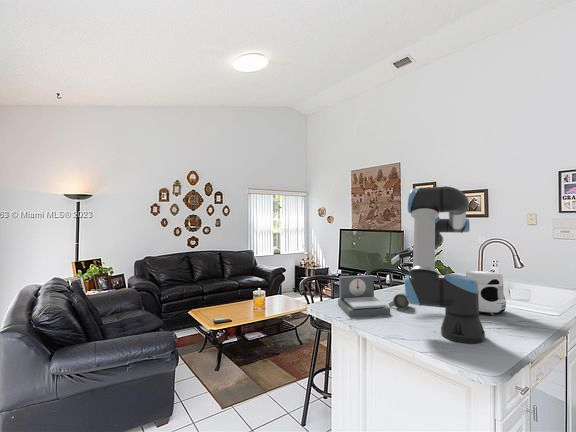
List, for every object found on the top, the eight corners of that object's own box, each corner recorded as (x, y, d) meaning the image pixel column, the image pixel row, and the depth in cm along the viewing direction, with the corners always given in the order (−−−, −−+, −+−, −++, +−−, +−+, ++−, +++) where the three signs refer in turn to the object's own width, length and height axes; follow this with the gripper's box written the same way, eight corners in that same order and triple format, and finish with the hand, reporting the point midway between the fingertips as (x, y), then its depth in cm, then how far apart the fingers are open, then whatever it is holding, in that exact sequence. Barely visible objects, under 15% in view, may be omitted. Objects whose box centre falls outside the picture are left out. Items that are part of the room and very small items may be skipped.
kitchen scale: (390, 314, 156) (389, 283, 156) (349, 316, 155) (348, 285, 154) (373, 302, 178) (373, 275, 178) (338, 304, 176) (337, 276, 176)
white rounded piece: (461, 305, 169) (460, 270, 169) (500, 307, 163) (499, 271, 163) (468, 315, 152) (467, 276, 152) (511, 318, 147) (510, 278, 147)
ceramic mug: (411, 305, 170) (410, 291, 170) (409, 310, 163) (408, 294, 163) (390, 304, 175) (389, 289, 175) (387, 308, 168) (386, 293, 168)
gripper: (447, 259, 173) (427, 278, 161) (404, 250, 192) (383, 265, 180) (446, 247, 170) (426, 264, 158) (403, 238, 189) (382, 253, 177)
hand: (403, 265), depth 169 cm, fingers open, 13 cm apart
